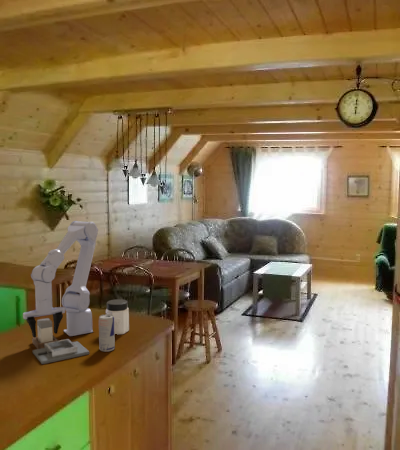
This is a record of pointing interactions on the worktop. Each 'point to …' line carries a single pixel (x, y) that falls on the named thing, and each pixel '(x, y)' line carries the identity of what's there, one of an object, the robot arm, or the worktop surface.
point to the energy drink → (106, 333)
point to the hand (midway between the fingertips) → (45, 334)
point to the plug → (44, 330)
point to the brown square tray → (41, 345)
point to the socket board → (59, 351)
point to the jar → (119, 315)
